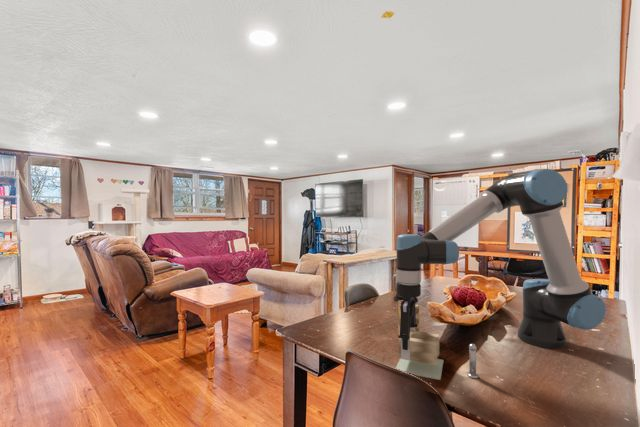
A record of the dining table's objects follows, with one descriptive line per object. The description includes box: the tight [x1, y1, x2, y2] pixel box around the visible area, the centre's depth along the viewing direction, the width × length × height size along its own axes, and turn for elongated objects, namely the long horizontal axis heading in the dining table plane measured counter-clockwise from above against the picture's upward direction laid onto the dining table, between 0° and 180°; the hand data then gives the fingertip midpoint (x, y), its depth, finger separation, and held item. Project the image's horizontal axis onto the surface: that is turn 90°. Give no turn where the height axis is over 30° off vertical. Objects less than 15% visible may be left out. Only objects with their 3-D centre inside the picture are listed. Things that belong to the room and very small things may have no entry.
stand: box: [466, 343, 479, 380], centre depth 93 cm, size 3×3×10 cm
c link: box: [398, 330, 440, 365], centre depth 99 cm, size 11×9×6 cm
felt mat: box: [395, 358, 444, 381], centre depth 99 cm, size 13×13×1 cm
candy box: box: [397, 300, 420, 336], centre depth 115 cm, size 9×4×15 cm, turn 13°
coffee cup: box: [393, 293, 419, 330], centre depth 128 cm, size 9×9×15 cm
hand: (408, 352), depth 101 cm, fingers closed on c link, 9 cm apart
